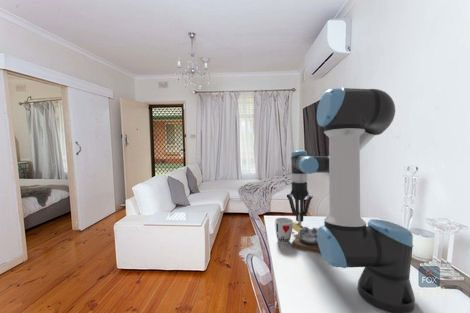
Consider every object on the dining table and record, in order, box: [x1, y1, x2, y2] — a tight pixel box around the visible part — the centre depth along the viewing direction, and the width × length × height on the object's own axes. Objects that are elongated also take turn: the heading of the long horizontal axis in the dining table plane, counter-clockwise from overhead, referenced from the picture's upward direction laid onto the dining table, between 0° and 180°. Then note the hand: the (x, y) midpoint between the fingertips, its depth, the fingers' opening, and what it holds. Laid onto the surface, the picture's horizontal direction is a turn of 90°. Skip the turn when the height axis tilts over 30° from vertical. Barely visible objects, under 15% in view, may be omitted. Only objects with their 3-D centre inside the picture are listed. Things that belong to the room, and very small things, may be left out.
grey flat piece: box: [292, 221, 319, 246], centre depth 114 cm, size 20×11×4 cm, turn 20°
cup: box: [274, 217, 294, 245], centre depth 112 cm, size 8×8×10 cm
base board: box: [291, 232, 322, 255], centre depth 110 cm, size 14×14×2 cm
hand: (299, 227), depth 122 cm, fingers closed
